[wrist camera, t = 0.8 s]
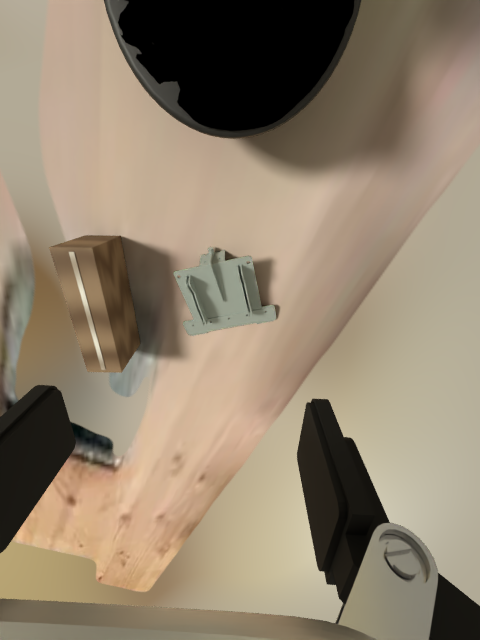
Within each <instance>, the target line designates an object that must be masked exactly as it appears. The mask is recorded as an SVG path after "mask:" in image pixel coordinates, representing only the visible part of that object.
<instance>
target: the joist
mask: <svg viewBox="0 0 480 640" xmlns="http://www.w3.org/2000/svg"><path fill="white" fill-rule="evenodd" d="M49 248H50V252H51V255H52V258H53V261H54V265H55V268H56V271H57V274H58V278H59V281H60V284H61V287H62V291H63V294H64V297H65V300H66V303H67V307H68V310H69V313H70V316H71V320H72V323H73V326H74V329H75V333H76V336H77V339H78V342H79V345H80V348H81V352H82V355H83V358H84V362H85V365H86V368H87V371H88V372H122V371H123V370H124V368H125V366H126V365H127V363H128V362H129V360H130V359H131V357H132V356H133V354H134V353H135V351H136V350H137V348H138V346H139V345H140V338H139V333H138V327H137V322H136V317H135V311H134V306H133V301H132V295H131V290H130V285H129V279H128V274H127V269H126V263H125V258H124V253H123V247H122V242H121V237H120V236H83V237H79V238H76V239H73V240H70V241H67V242H64V243H61V244H58V245H55V246H52V247H49Z"/></svg>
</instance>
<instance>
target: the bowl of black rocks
mask: <svg viewBox="0 0 480 640" xmlns="http://www.w3.org/2000/svg"><path fill="white" fill-rule="evenodd" d="M104 3H105V7H106V10H107V14H108V17H109V20H110V23H111V26H112V29H113V32H114V34H115V37H116V39H117V42H118V44H119V47H120V49H121V51H122V53H123V55H124V57H125V59H126V61H127V63H128V64H129V66H130V68H131V70H132V71H133V73H134V75H135V76H136V78H137V79H138V80H139V82H140V83H141V85H142V86H143V87H144V89H145V90H146V91H147V92H148V94H149V95H150V96H151V97H152V98H153V99H154V100H155V101H156V102H157V103H158V104H159V105H160V106H161V107H162V108H163V109H164V110H165V111H166V112H167V113H169V114H170V115H171V116H172V117H174V118H175V119H177V120H178V121H180V122H181V123H183V124H185V125H186V126H188V127H190V128H192V129H194V130H196V131H199V132H201V133H204V134H207V135H211V136H215V137H221V138H231V139H235V138H247V137H252V136H256V135H260V134H263V133H266V132H268V131H270V130H273V129H275V128H277V127H279V126H280V125H282V124H284V123H285V122H287V121H288V120H290V119H291V118H293V117H294V116H295V115H297V114H298V113H299V112H300V111H301V110H302V109H304V108H305V107H306V106H307V105H308V104H309V103H310V102H311V101H312V100H313V99H314V97H315V96H316V95H317V94H318V93H319V91H320V90H321V89H322V88H323V86H324V85H325V83H326V82H327V81H328V79H329V78H330V76H331V75H332V73H333V71H334V69H335V68H336V66H337V64H338V63H339V61H340V59H341V57H342V55H343V52H344V50H345V48H346V46H347V43H348V41H349V39H350V36H351V34H352V31H353V28H354V25H355V22H356V19H357V15H358V11H359V7H360V3H361V0H104Z"/></svg>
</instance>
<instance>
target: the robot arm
mask: <svg viewBox="0 0 480 640" xmlns="http://www.w3.org/2000/svg"><path fill="white" fill-rule="evenodd" d="M75 444H76V440H75V436H74V433H73V430H72V427H71V423H70V420H69V417H68V413H67V410H66V407H65V403H64V400H63V397H62V393H61V392H60V391H59V390H58V389H57V387H55V386H45V385H37V386H35V387H34V388H33V389H31V390H30V391H29V392H28V393H27V394H26V395H25V396H24V397H22V399H20V400H19V401H18V402H17V403H16V404H15V405H13V406H12V407H11V408H10V409H9V410H8V411H7V412H6V413H4V414H3V415H2V416H1V417H0V553H1V552H3V551H4V550H5V549H6V547H7V546H8V545H9V543H10V542H11V540H12V539H13V537H14V536H15V535H16V533H17V532H18V530H19V529H20V527H21V526H22V524H23V523H24V521H25V520H26V518H27V517H28V516H29V514H30V513H31V511H32V510H33V508H34V507H35V505H36V504H37V502H38V501H39V500H40V498H41V497H42V495H43V494H44V492H45V491H46V489H47V488H48V486H49V485H50V484H51V482H52V481H53V479H54V478H55V476H56V475H57V473H58V472H59V470H60V469H61V467H62V466H63V465H64V463H65V462H66V460H67V459H68V457H69V456H70V454H71V453H72V451H73V450H74V448H75ZM297 460H298V466H299V471H300V477H301V482H302V487H303V493H304V498H305V503H306V509H307V514H308V519H309V524H310V530H311V535H312V540H313V545H314V550H315V556H316V561H317V566H318V569H319V571H324V572H325V577H326V582H327V584H330V585H336V587H337V592H338V596H339V599H340V600H341V601H342V602H343V605H342V607H341V610H340V612H339V615H338V617H337V620H336V623H330V622H327V621H322V620H315V619H308V618H301V617H295V616H283V615H271V614H270V615H269V614H259V613H245V612H233V611H217V610H200V609H183V608H167V607H150V606H131V605H114V604H95V603H76V602H58V601H39V600H17V599H0V640H480V606H479V605H478V604H476V603H475V602H474V601H472V600H471V599H470V598H469V597H468V596H466V595H465V594H464V593H463V592H461V591H460V590H459V589H458V588H456V587H455V586H454V585H453V584H452V583H450V582H449V581H448V580H447V579H445V578H444V577H443V576H442V575H440V574H439V573H438V569H437V566H436V563H435V560H434V558H433V556H432V554H431V553H430V551H429V549H428V548H427V547H426V546H425V544H424V543H423V542H422V541H421V540H420V539H419V538H418V537H417V536H416V535H415V534H414V533H412V532H411V531H410V530H408V529H406V528H404V527H403V526H401V525H397V524H394V523H390V522H389V520H388V518H387V515H386V513H385V511H384V509H383V506H382V504H381V502H380V499H379V497H378V495H377V493H376V491H375V488H374V486H373V483H372V481H371V479H370V476H369V474H368V472H367V469H366V467H365V465H364V463H363V460H362V458H361V456H360V454H359V451H358V449H357V447H356V444H355V443H354V441H353V439H351V438H347V437H343V434H342V432H341V429H340V427H339V424H338V422H337V419H336V417H335V415H334V412H333V410H332V407H331V404H330V402H329V400H327V399H312V401H311V403H307V404H306V409H305V414H304V419H303V424H302V430H301V435H300V441H299V446H298V452H297Z"/></svg>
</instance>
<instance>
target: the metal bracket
mask: <svg viewBox="0 0 480 640" xmlns="http://www.w3.org/2000/svg"><path fill="white" fill-rule="evenodd" d="M208 251H209V253H208V254H207V255H205V254H204V255H201V258H200V266H198V267H193V268H188V269H183V270H179V271H175V272H174V276H175V279H176V281H177V283H178V285H179V287H180V290H181V292H182V294H183V296H184V299H185V301H186V303H187V305H188V307H189V310H190V312H191V314H192V316H193V320H189V321H184V322H183V325H184V327H185V329H186V331H187V333H188V335H192V336H194V335H199V334H205V333H208V332H209V331H214V330H220V329H225V328H231V327H236V326H242V325H247V324H253V323H257V324H259V323H265V322H270V321H274V320H275V319H276V313H275V307H274V305H269V306H262V305H261V301H260V296H259V291H258V286H257V281H256V276H255V271H254V266H253V261H252V257H251V256H245V257H240V258H236V259H231V260H226V261H225V250H222V251H221V252H219V251H218V252H214V250H213V247H210V248H208ZM247 261H250V263H249V264H248V263H247ZM178 275H180V276H181V277H180V278H178V277H177V276H178ZM265 311H267V312H265ZM228 318H230V319H228ZM210 321H212V322H210Z"/></svg>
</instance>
